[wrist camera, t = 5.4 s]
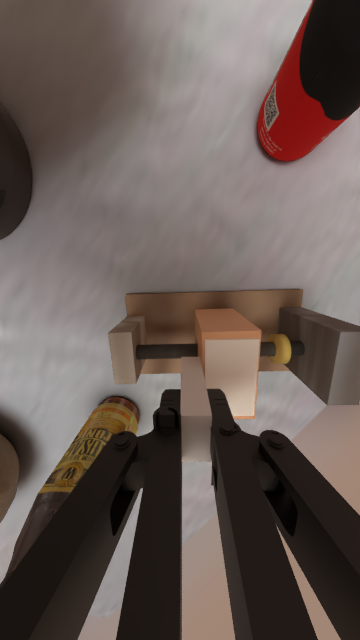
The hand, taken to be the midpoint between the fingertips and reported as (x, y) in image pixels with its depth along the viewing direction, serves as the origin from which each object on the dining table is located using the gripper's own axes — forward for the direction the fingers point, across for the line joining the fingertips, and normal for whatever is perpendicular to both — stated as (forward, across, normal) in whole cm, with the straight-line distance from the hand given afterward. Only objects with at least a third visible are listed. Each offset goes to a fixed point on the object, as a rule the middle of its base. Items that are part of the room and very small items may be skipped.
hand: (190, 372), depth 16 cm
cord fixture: (+9, +3, 0) cm, 9 cm away
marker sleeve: (+6, +3, 0) cm, 7 cm away
